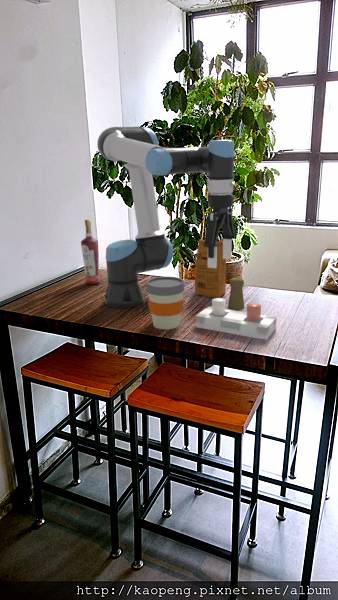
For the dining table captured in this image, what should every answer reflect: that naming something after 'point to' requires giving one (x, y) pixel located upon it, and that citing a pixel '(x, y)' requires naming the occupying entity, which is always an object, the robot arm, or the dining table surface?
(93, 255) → the liquor
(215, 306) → the white rounded piece
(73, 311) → the dining table surface
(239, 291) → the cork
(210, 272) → the coffee package
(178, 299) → the reusable coffee cup
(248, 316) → the salmon rounded knob
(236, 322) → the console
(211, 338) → the dining table surface
